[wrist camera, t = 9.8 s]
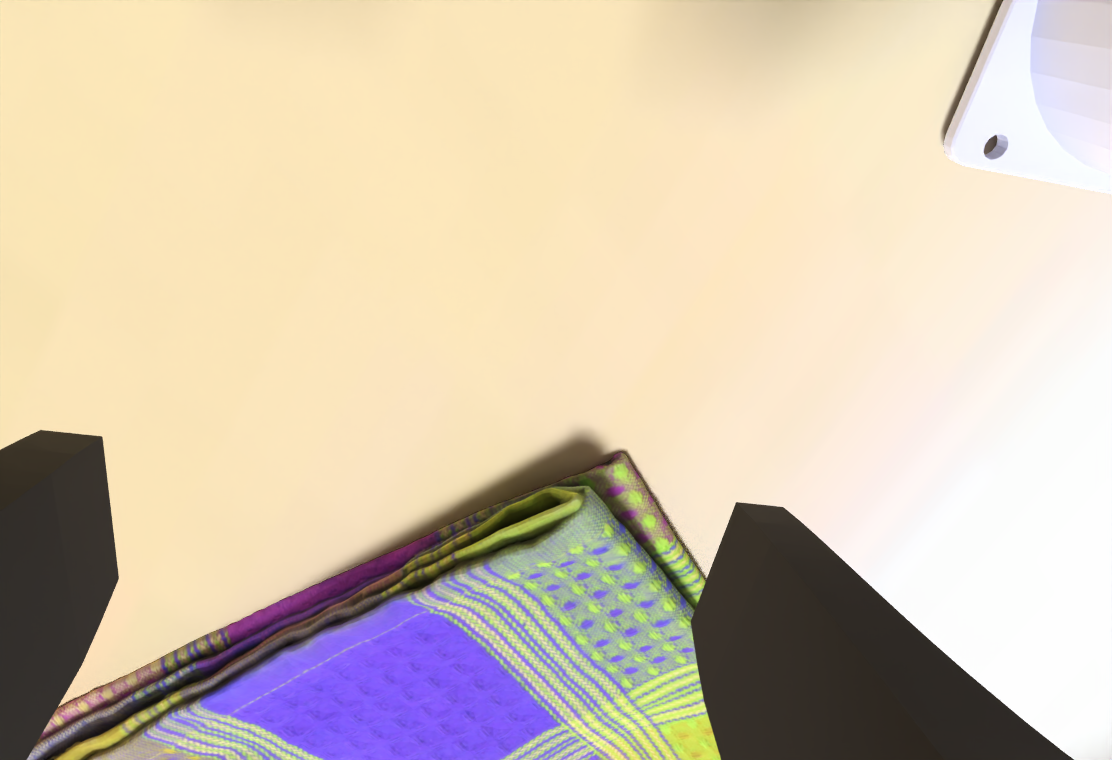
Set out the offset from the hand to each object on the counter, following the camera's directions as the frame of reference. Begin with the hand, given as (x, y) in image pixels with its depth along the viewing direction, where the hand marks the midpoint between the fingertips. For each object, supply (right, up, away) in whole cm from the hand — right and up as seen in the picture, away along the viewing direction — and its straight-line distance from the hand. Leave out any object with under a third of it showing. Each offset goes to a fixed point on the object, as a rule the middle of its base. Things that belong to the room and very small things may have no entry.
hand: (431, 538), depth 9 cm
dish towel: (-4, -11, +18) cm, 21 cm away
